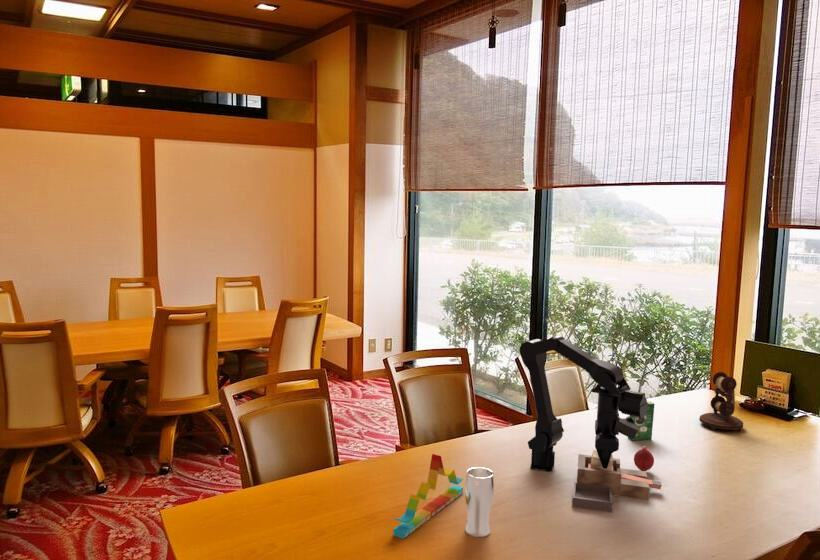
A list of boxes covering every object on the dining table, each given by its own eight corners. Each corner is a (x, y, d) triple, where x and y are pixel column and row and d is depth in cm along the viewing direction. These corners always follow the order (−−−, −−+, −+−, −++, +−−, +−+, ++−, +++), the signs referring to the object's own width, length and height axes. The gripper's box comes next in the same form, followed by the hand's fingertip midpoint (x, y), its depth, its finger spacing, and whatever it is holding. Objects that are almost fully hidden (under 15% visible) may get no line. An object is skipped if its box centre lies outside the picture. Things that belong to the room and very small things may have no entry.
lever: (587, 475, 185) (588, 468, 185) (587, 466, 192) (589, 459, 191) (661, 492, 180) (663, 485, 180) (659, 482, 187) (660, 476, 186)
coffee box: (647, 436, 229) (650, 400, 228) (652, 439, 226) (655, 403, 225) (627, 438, 227) (629, 401, 226) (631, 441, 225) (634, 404, 223)
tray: (572, 506, 174) (572, 497, 174) (573, 490, 184) (573, 482, 184) (611, 512, 171) (612, 503, 171) (610, 496, 181) (611, 487, 181)
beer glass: (461, 524, 163) (463, 466, 161) (488, 523, 164) (491, 466, 162) (466, 538, 156) (468, 478, 154) (494, 537, 157) (497, 478, 155)
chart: (404, 540, 155) (405, 480, 154) (393, 536, 157) (394, 476, 155) (463, 494, 181) (465, 442, 179) (453, 491, 183) (455, 439, 181)
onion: (654, 476, 195) (656, 450, 194) (634, 474, 196) (636, 449, 195) (651, 469, 201) (653, 444, 200) (631, 467, 202) (633, 442, 201)
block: (590, 471, 186) (593, 456, 185) (590, 464, 191) (593, 449, 190) (610, 476, 184) (613, 461, 184) (609, 468, 189) (612, 454, 189)
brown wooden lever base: (576, 490, 184) (577, 468, 183) (577, 474, 195) (578, 454, 194) (648, 500, 179) (650, 477, 178) (645, 483, 190) (646, 462, 189)
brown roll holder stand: (750, 434, 234) (755, 380, 232) (709, 433, 235) (713, 378, 232) (731, 420, 249) (735, 369, 247) (692, 419, 249) (696, 368, 247)
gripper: (640, 423, 174) (636, 479, 176) (635, 403, 192) (632, 454, 194) (596, 418, 177) (593, 473, 179) (596, 399, 195) (593, 449, 197)
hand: (604, 462), depth 187 cm, fingers open, 9 cm apart
